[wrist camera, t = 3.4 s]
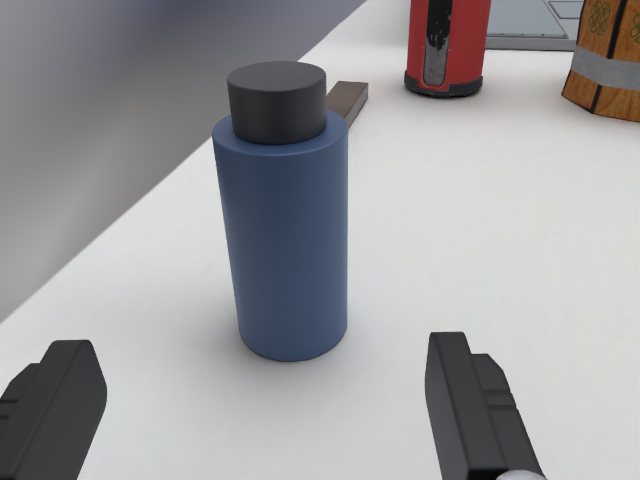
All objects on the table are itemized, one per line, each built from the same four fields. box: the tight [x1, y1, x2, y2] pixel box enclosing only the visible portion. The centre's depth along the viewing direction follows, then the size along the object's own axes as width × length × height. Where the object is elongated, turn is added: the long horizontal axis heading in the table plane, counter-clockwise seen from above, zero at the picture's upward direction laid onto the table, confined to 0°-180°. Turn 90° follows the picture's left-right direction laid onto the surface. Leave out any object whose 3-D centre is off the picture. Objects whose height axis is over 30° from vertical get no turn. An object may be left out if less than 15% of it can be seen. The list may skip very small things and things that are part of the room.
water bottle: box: [212, 61, 348, 361], centre depth 23 cm, size 5×5×12 cm
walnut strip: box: [326, 81, 368, 128], centre depth 46 cm, size 18×3×2 cm, turn 164°
